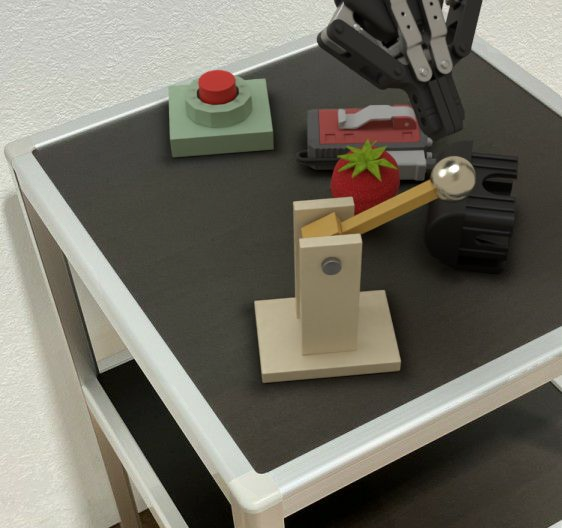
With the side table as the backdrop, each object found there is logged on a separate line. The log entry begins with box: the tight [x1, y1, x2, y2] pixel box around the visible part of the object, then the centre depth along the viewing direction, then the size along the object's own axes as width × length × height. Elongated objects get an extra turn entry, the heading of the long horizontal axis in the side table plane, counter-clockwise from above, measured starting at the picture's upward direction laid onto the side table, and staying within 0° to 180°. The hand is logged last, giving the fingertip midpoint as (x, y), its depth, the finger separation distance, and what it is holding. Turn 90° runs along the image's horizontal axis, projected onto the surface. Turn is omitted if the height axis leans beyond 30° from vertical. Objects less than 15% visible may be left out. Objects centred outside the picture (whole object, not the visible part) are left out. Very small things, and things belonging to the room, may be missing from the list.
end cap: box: [423, 139, 519, 274], centre depth 84 cm, size 10×7×7 cm
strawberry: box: [329, 139, 401, 216], centre depth 84 cm, size 6×8×10 cm
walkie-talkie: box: [295, 104, 437, 182], centre depth 93 cm, size 9×4×20 cm
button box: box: [167, 75, 275, 158], centre depth 96 cm, size 10×9×4 cm
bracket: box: [254, 197, 402, 384], centre depth 74 cm, size 11×8×13 cm
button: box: [198, 69, 236, 105], centre depth 95 cm, size 4×4×2 cm
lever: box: [301, 156, 476, 238], centre depth 69 cm, size 13×3×3 cm, turn 95°
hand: (448, 135), depth 66 cm, fingers closed
